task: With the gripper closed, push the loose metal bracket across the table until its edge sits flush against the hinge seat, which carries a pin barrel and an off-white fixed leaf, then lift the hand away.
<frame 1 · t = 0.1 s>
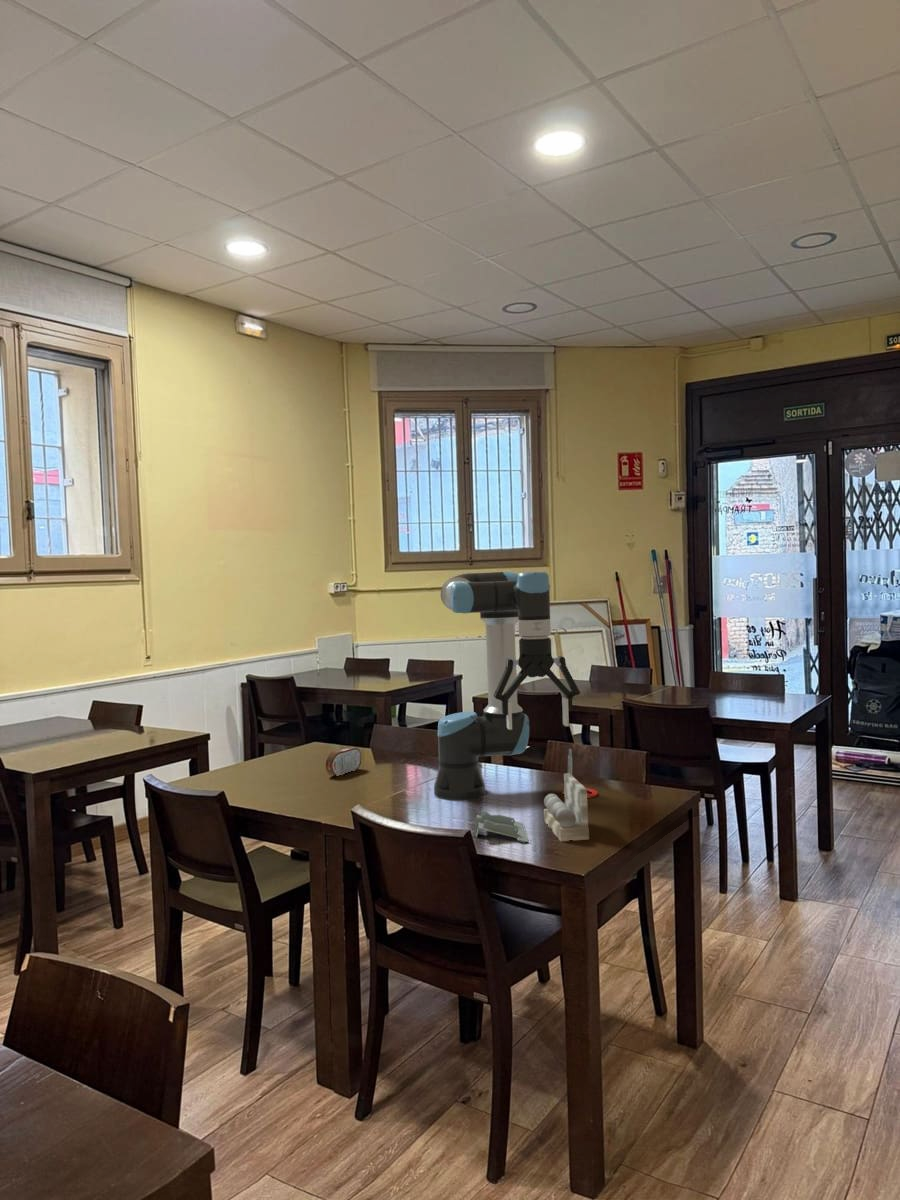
hand: (537, 727, 194), 28 cm above the table, tool pointing down, fingers open, 13 cm apart
metal bracket: (501, 837, 203), on the table
hinge seat: (565, 829, 205), on the table
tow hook: (581, 795, 236), on the table
tin: (344, 774, 271), on the table
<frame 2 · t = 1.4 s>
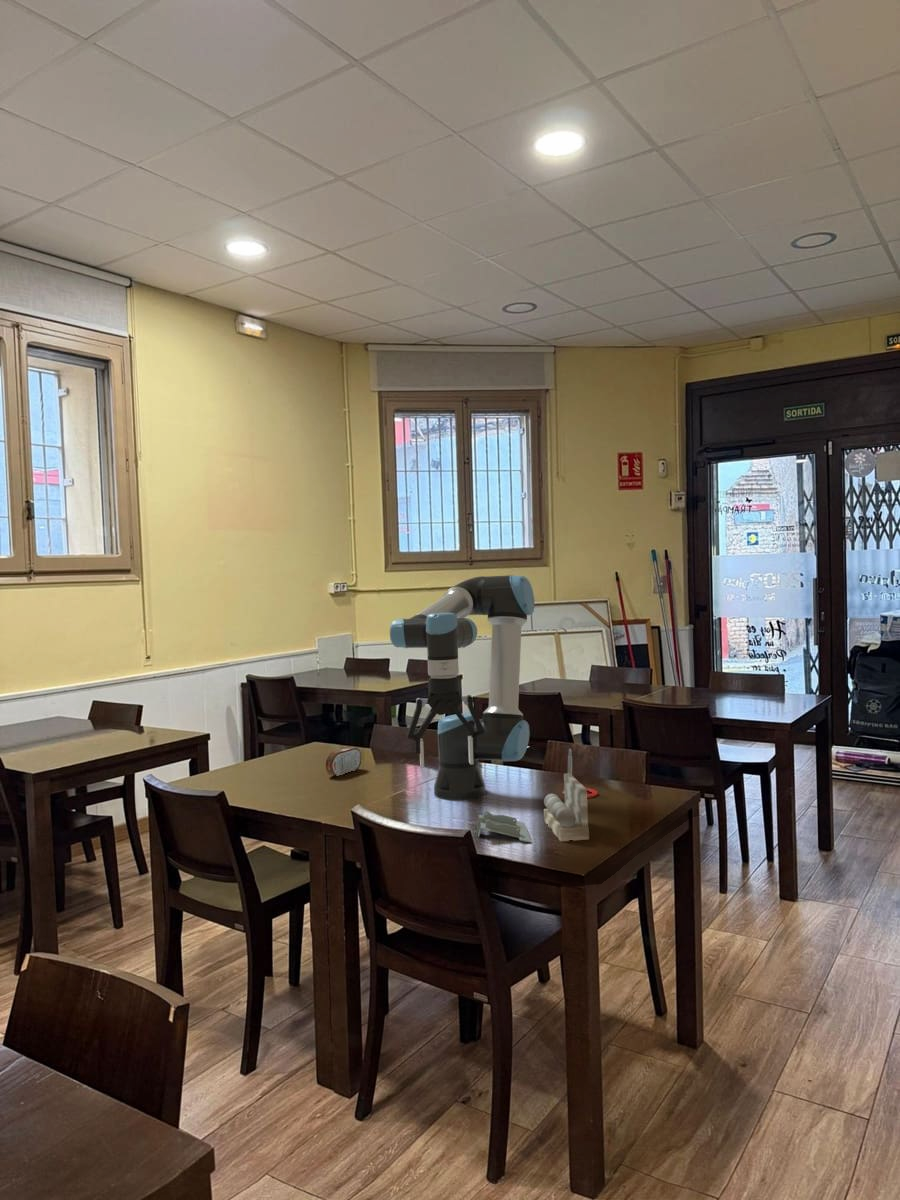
hand: (446, 764, 201), 18 cm above the table, tool pointing down, fingers open, 11 cm apart
nothing on the table moved.
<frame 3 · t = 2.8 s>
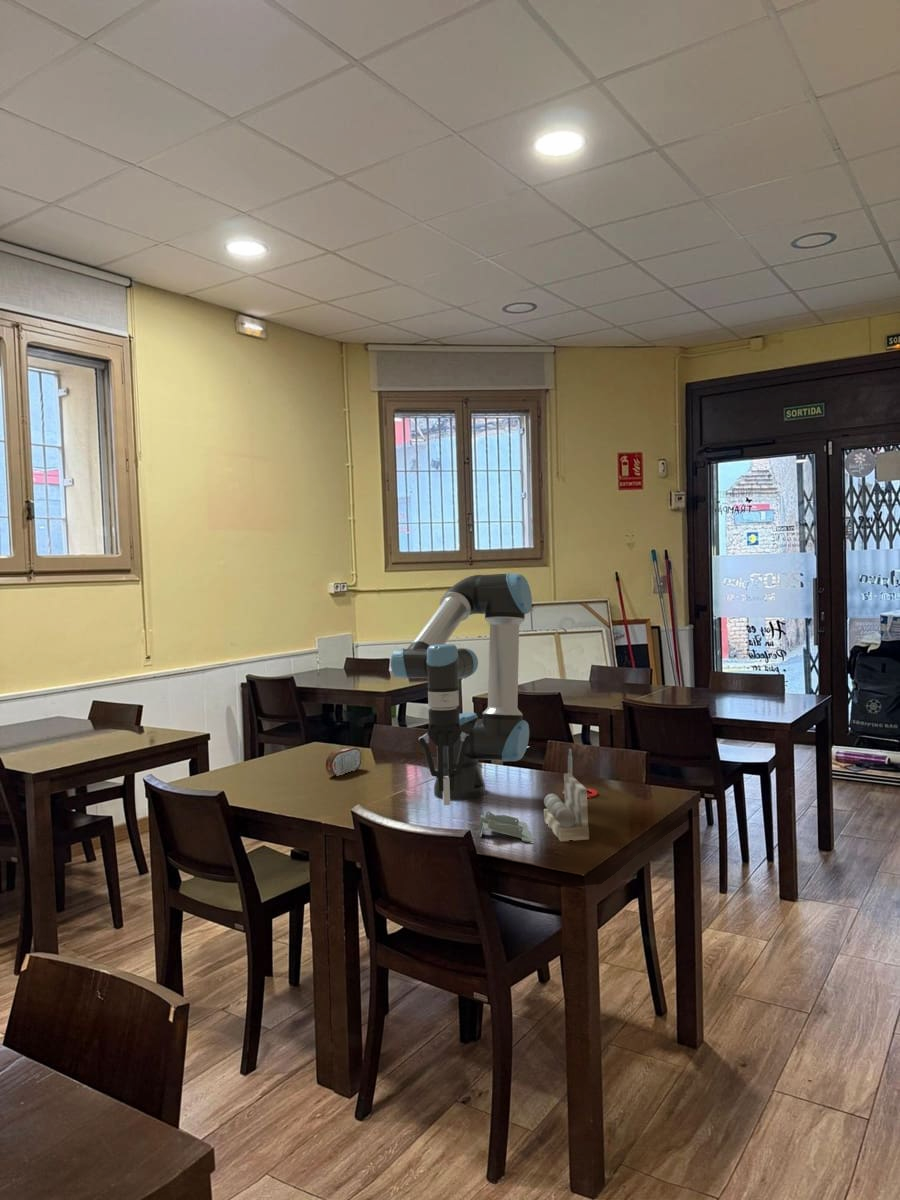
hand: (446, 803, 201), 9 cm above the table, tool pointing down, fingers closed
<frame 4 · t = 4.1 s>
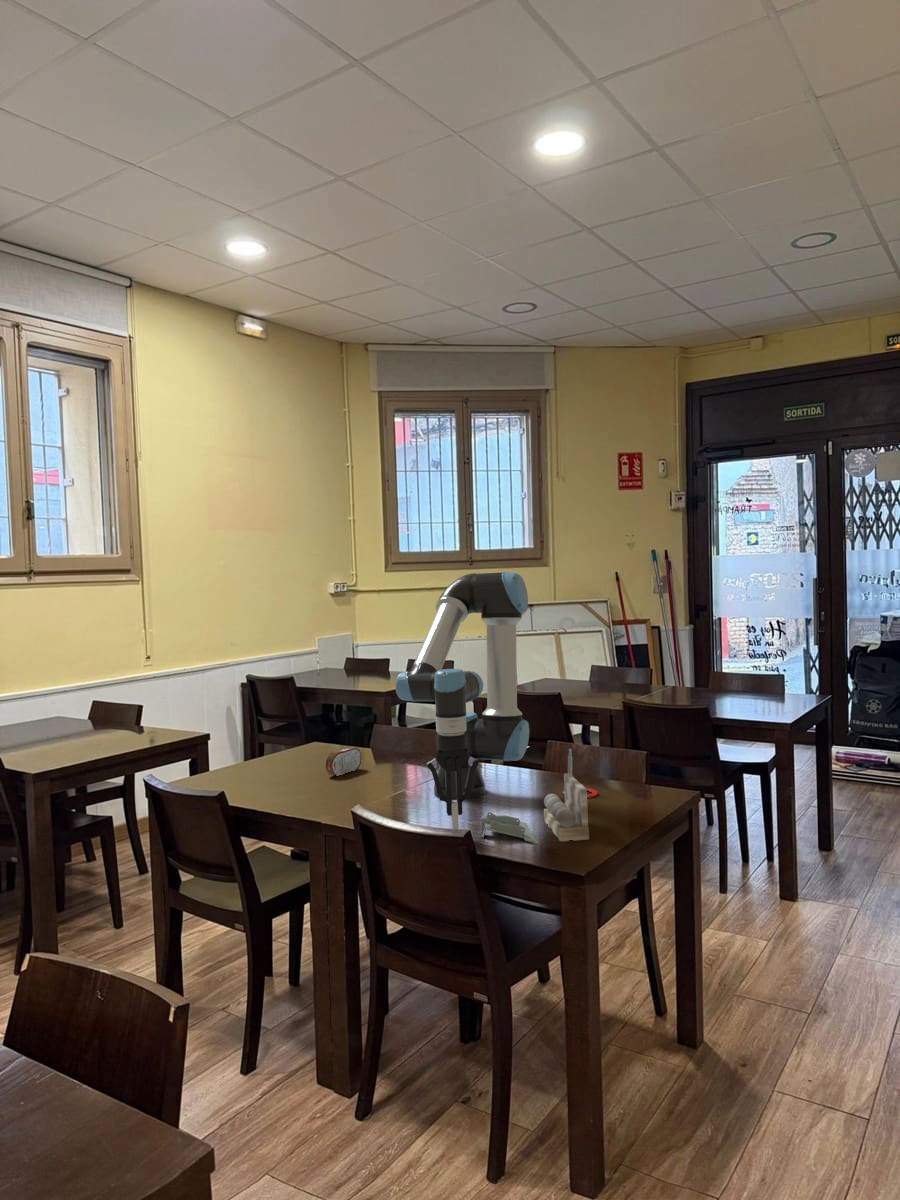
hand: (455, 827, 202), 2 cm above the table, tool pointing down, fingers closed
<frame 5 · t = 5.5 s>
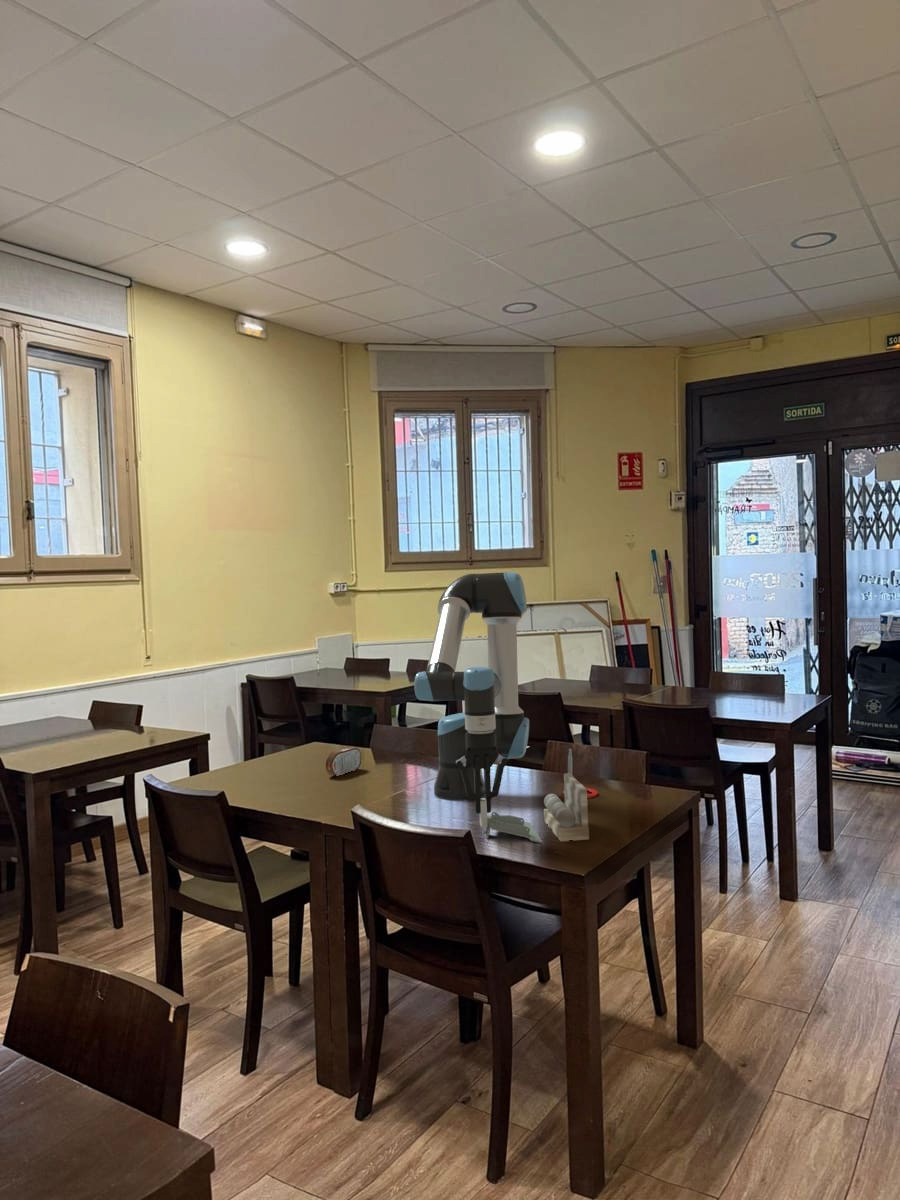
hand: (483, 825, 203), 2 cm above the table, tool pointing down, fingers closed
metal bracket: (511, 837, 203), on the table
everything else where it was.
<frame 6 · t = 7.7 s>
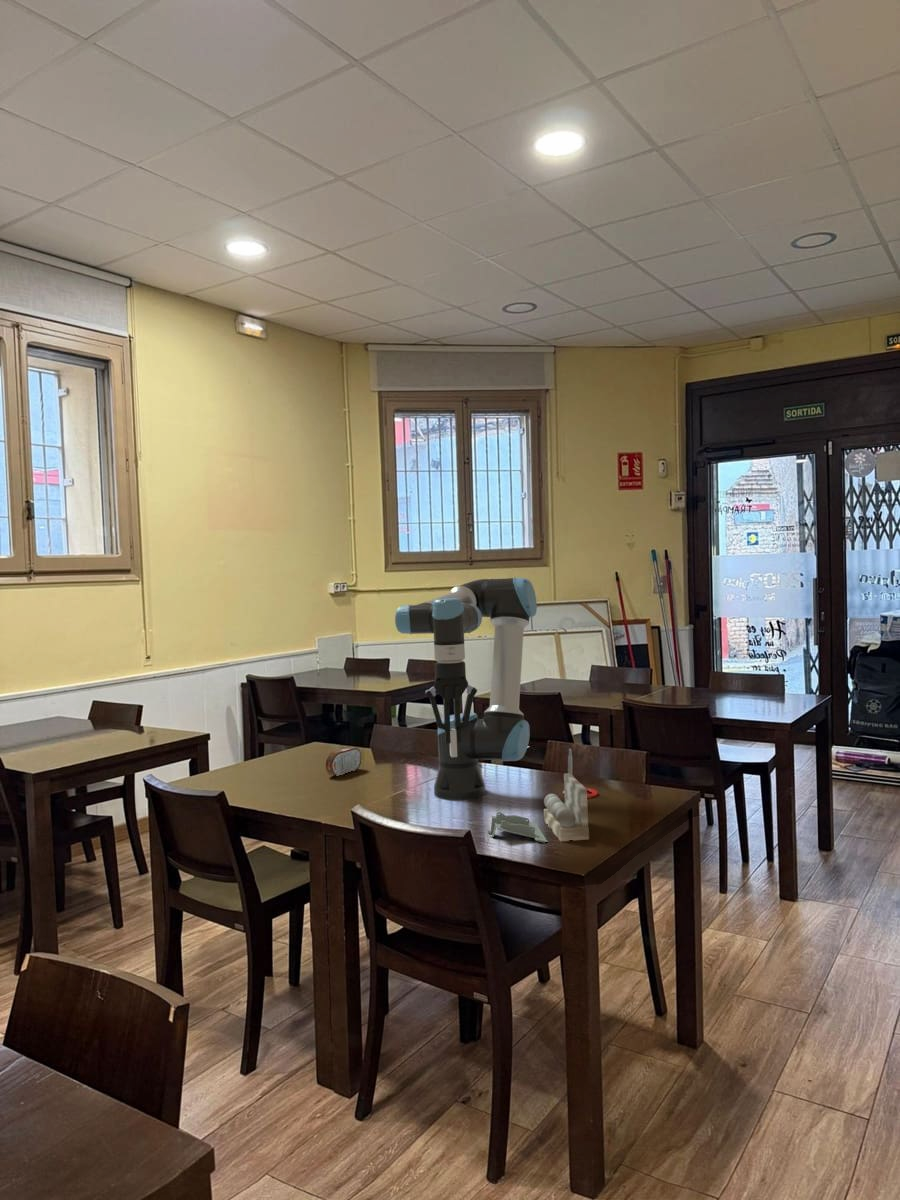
hand: (453, 755, 203), 20 cm above the table, tool pointing down, fingers closed
metal bracket: (517, 837, 203), on the table
everything else where it was.
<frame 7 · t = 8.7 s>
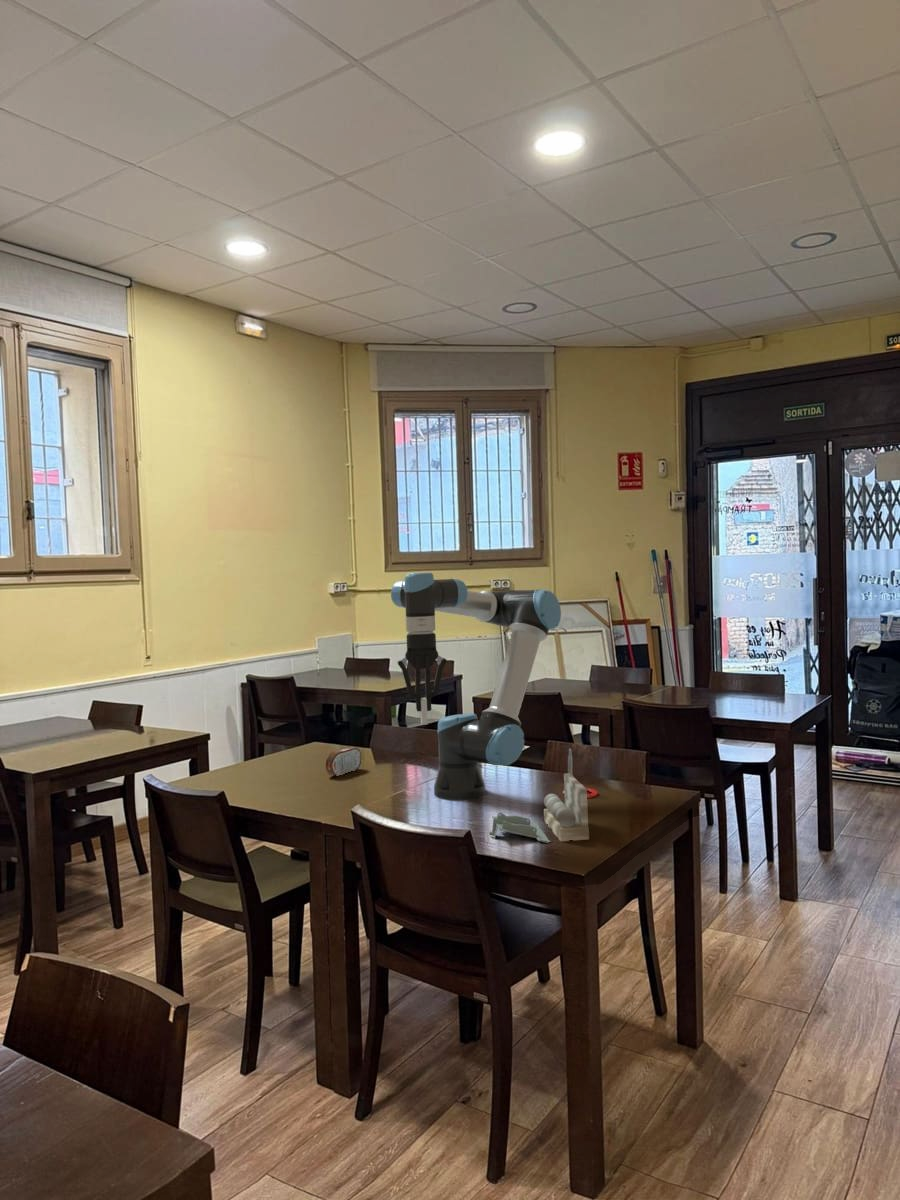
hand: (424, 723, 212), 26 cm above the table, tool pointing down, fingers closed
nothing on the table moved.
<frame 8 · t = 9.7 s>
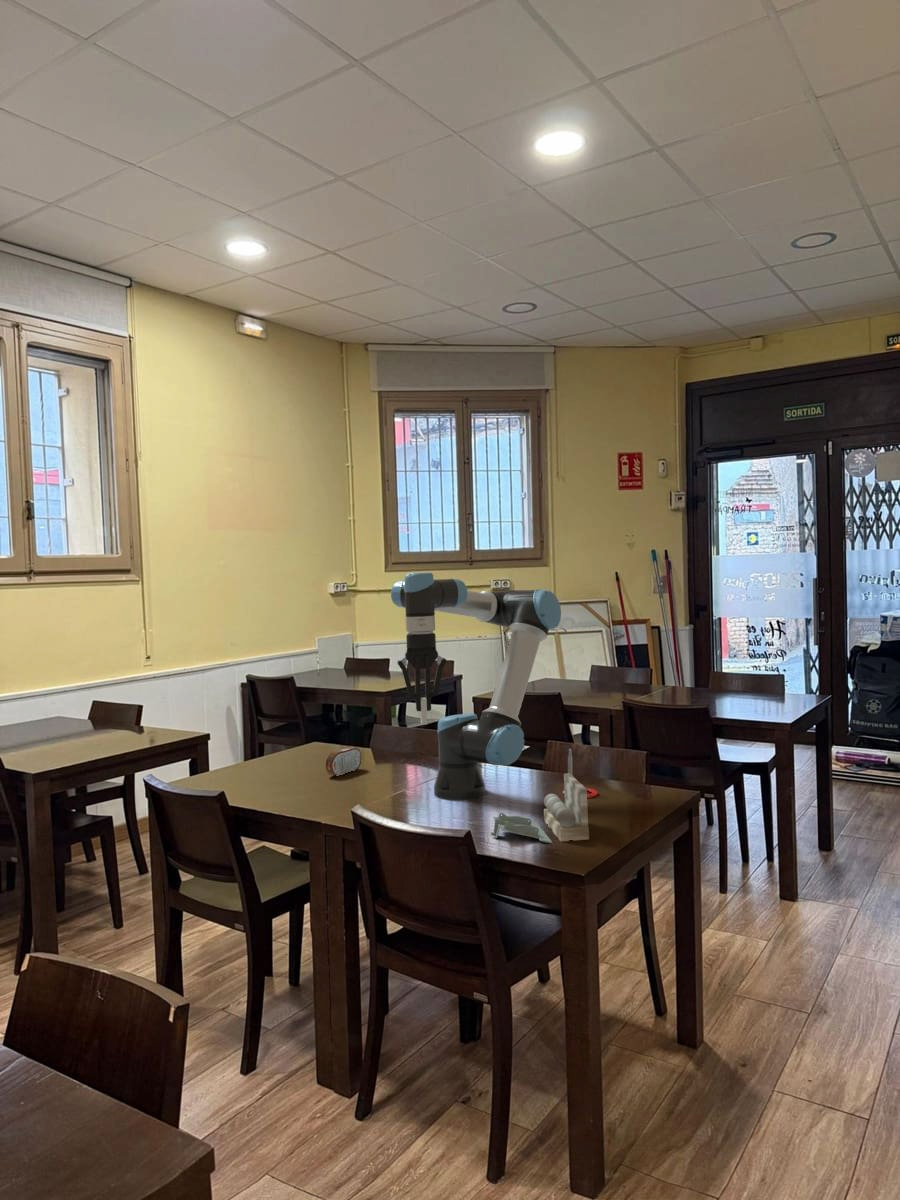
hand: (424, 723, 212), 26 cm above the table, tool pointing down, fingers closed
nothing on the table moved.
at the end: metal bracket 1.9 cm from the target spot, on the table; metal bracket moved 5.0 cm from its start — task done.
